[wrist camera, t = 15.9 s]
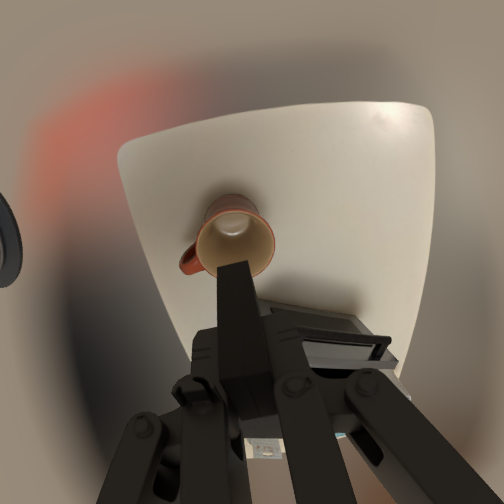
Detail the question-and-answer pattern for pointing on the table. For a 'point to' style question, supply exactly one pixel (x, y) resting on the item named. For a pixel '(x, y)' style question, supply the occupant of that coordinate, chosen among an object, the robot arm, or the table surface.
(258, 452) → the ink box
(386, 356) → the door
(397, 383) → the cup
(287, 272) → the table surface
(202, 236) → the mug
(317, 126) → the table surface
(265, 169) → the table surface
